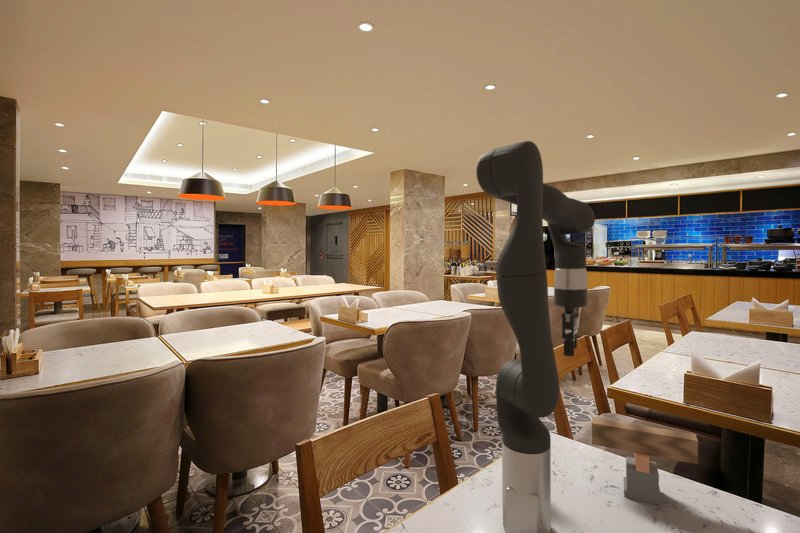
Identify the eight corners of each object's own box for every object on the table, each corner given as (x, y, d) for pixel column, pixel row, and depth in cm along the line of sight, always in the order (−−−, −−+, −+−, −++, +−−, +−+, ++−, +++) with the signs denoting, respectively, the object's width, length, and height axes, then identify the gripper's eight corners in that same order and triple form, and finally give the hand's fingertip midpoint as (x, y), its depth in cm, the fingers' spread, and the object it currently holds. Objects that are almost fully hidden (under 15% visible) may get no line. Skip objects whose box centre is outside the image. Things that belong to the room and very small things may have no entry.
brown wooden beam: (694, 456, 86) (695, 434, 86) (697, 464, 83) (698, 441, 83) (592, 437, 96) (592, 417, 96) (591, 444, 93) (591, 423, 93)
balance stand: (661, 505, 86) (661, 460, 85) (624, 496, 89) (624, 452, 89) (658, 490, 91) (658, 447, 91) (623, 482, 94) (623, 441, 94)
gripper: (585, 289, 90) (585, 360, 91) (588, 284, 103) (588, 347, 103) (550, 288, 94) (550, 357, 94) (557, 284, 106) (557, 344, 107)
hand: (570, 351), depth 99 cm, fingers open, 8 cm apart
